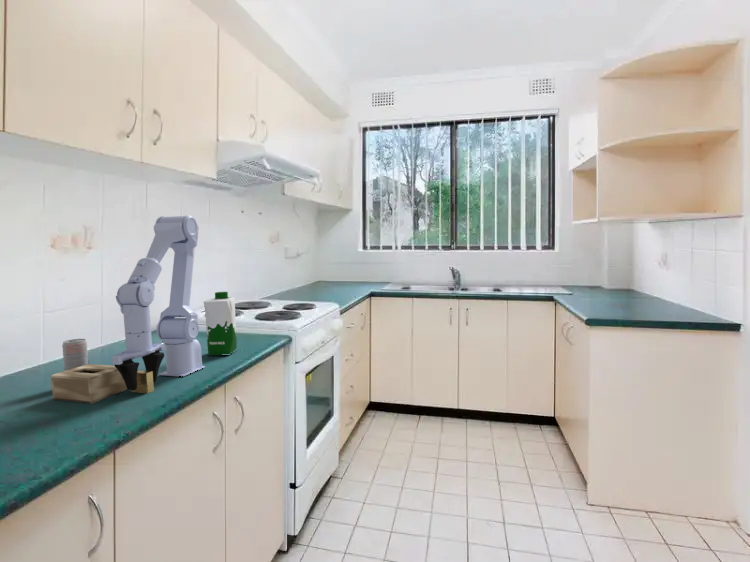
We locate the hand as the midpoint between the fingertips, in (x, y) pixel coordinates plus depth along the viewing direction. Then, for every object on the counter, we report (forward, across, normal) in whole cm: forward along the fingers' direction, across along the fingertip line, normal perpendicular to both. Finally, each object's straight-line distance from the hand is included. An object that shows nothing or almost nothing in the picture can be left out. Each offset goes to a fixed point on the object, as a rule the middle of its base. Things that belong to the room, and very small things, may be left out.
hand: (142, 385), depth 115 cm
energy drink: (+2, 0, +21) cm, 21 cm away
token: (+2, 0, 0) cm, 2 cm away
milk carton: (+2, +38, +4) cm, 38 cm away
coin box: (+1, -5, +11) cm, 12 cm away
